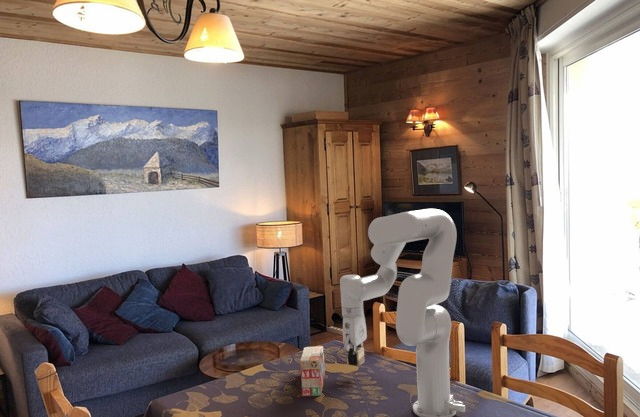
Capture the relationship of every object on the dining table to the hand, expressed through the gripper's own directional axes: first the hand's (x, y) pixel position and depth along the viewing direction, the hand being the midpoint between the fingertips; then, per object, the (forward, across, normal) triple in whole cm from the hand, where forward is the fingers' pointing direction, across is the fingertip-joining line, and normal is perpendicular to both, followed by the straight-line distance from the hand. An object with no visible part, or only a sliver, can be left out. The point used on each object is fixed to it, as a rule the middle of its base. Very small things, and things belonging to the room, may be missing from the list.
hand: (356, 361), depth 176 cm
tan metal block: (0, 0, 0) cm, 0 cm away
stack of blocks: (+6, -9, +12) cm, 16 cm away
